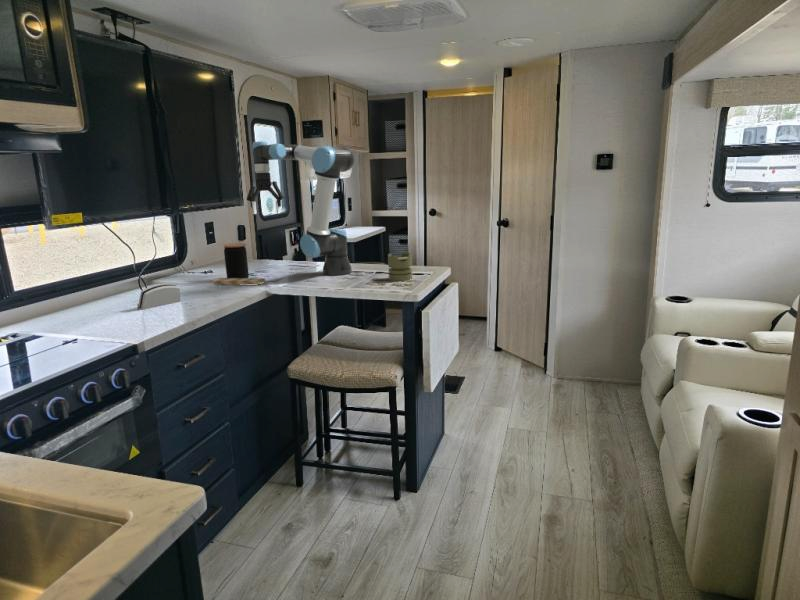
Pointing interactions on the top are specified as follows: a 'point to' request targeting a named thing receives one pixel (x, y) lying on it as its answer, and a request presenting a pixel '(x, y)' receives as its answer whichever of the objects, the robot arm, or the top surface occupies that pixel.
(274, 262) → the top surface
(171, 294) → the beige arched block
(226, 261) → the coffee jar
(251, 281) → the oak board
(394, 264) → the piston
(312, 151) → the robot arm
